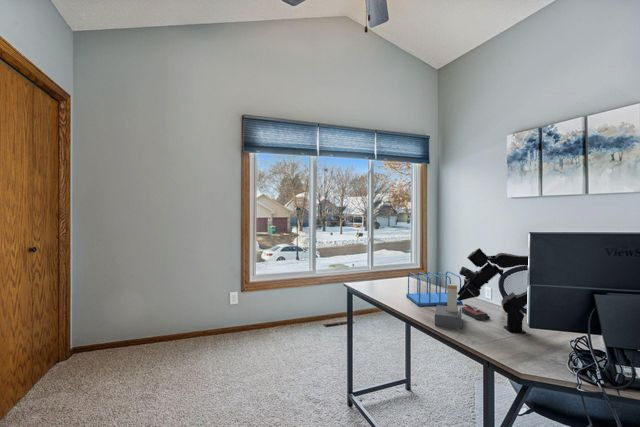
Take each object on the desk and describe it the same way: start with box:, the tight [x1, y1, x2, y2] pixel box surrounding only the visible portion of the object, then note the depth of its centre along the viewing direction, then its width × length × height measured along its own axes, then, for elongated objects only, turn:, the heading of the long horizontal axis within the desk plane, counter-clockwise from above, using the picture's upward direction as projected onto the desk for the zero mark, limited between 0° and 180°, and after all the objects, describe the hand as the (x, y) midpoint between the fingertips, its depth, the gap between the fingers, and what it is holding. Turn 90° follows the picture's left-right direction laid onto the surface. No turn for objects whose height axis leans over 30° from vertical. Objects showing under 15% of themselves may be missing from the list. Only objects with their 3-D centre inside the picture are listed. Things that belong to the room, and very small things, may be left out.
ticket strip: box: [446, 283, 458, 313], centre depth 149 cm, size 4×1×13 cm, turn 67°
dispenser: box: [434, 305, 463, 330], centre depth 150 cm, size 11×14×6 cm
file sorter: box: [405, 270, 463, 307], centre depth 182 cm, size 25×17×15 cm
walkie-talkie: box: [461, 303, 491, 321], centre depth 161 cm, size 9×4×20 cm
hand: (457, 297), depth 148 cm, fingers open, 9 cm apart
